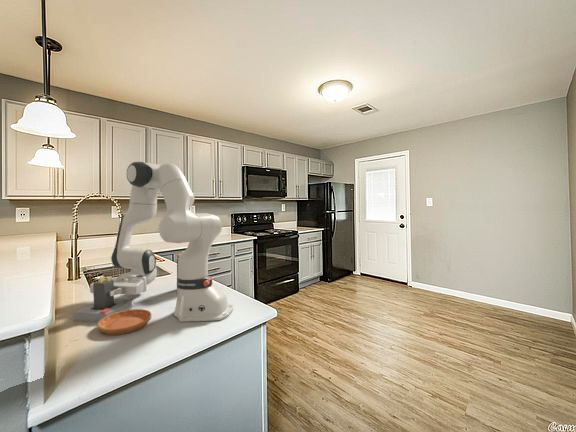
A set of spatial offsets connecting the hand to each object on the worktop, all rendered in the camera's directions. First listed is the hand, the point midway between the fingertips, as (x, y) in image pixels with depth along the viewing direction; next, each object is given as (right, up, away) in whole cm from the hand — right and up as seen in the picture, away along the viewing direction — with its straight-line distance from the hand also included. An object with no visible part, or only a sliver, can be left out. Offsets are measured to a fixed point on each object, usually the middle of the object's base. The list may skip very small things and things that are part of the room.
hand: (102, 293), depth 99 cm
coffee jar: (+21, -7, +31) cm, 38 cm away
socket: (0, -8, +1) cm, 8 cm away
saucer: (+14, -9, -8) cm, 19 cm away
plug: (0, -5, +1) cm, 6 cm away
